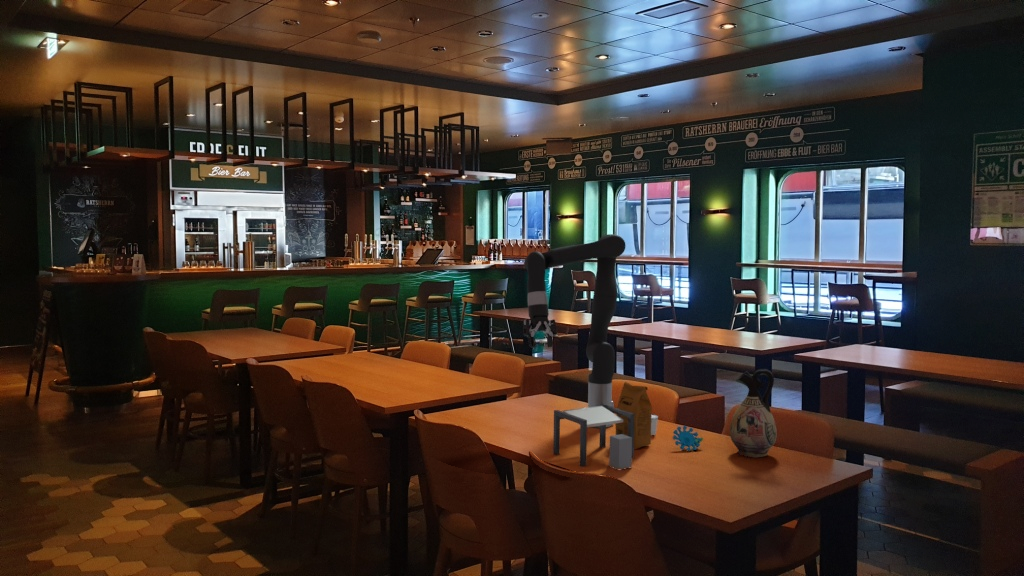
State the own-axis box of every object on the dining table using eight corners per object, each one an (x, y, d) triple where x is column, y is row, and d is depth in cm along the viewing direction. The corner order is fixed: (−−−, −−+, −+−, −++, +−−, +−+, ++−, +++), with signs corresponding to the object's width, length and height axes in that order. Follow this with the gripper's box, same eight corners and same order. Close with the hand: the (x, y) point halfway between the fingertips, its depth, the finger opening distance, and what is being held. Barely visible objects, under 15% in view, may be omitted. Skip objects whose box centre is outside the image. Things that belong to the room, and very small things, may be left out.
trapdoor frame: (602, 446, 273) (603, 404, 272) (633, 458, 258) (634, 413, 257) (553, 453, 262) (553, 410, 261) (582, 466, 247) (583, 420, 247)
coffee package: (631, 439, 283) (632, 379, 281) (654, 446, 272) (656, 385, 271) (610, 442, 278) (611, 382, 276) (633, 450, 267) (634, 388, 266)
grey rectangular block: (632, 437, 246) (631, 468, 246) (622, 434, 250) (621, 464, 251) (619, 439, 243) (618, 470, 244) (609, 435, 248) (609, 466, 248)
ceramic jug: (726, 457, 260) (729, 369, 258) (731, 446, 274) (733, 362, 272) (780, 463, 253) (782, 373, 252) (782, 451, 268) (784, 366, 266)
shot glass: (659, 433, 292) (660, 415, 291) (655, 437, 286) (655, 418, 285) (641, 431, 295) (642, 413, 294) (637, 435, 289) (637, 416, 288)
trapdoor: (600, 408, 269) (601, 405, 269) (623, 422, 258) (623, 419, 258) (562, 413, 261) (563, 409, 261) (584, 428, 250) (584, 424, 250)
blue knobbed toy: (675, 448, 265) (672, 423, 272) (670, 456, 269) (666, 431, 276) (706, 451, 266) (702, 426, 273) (700, 460, 271) (696, 435, 277)
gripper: (528, 302, 285) (532, 346, 282) (558, 303, 293) (562, 345, 291) (516, 305, 291) (520, 348, 288) (546, 306, 299) (549, 347, 297)
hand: (541, 347), depth 289 cm, fingers open, 8 cm apart
